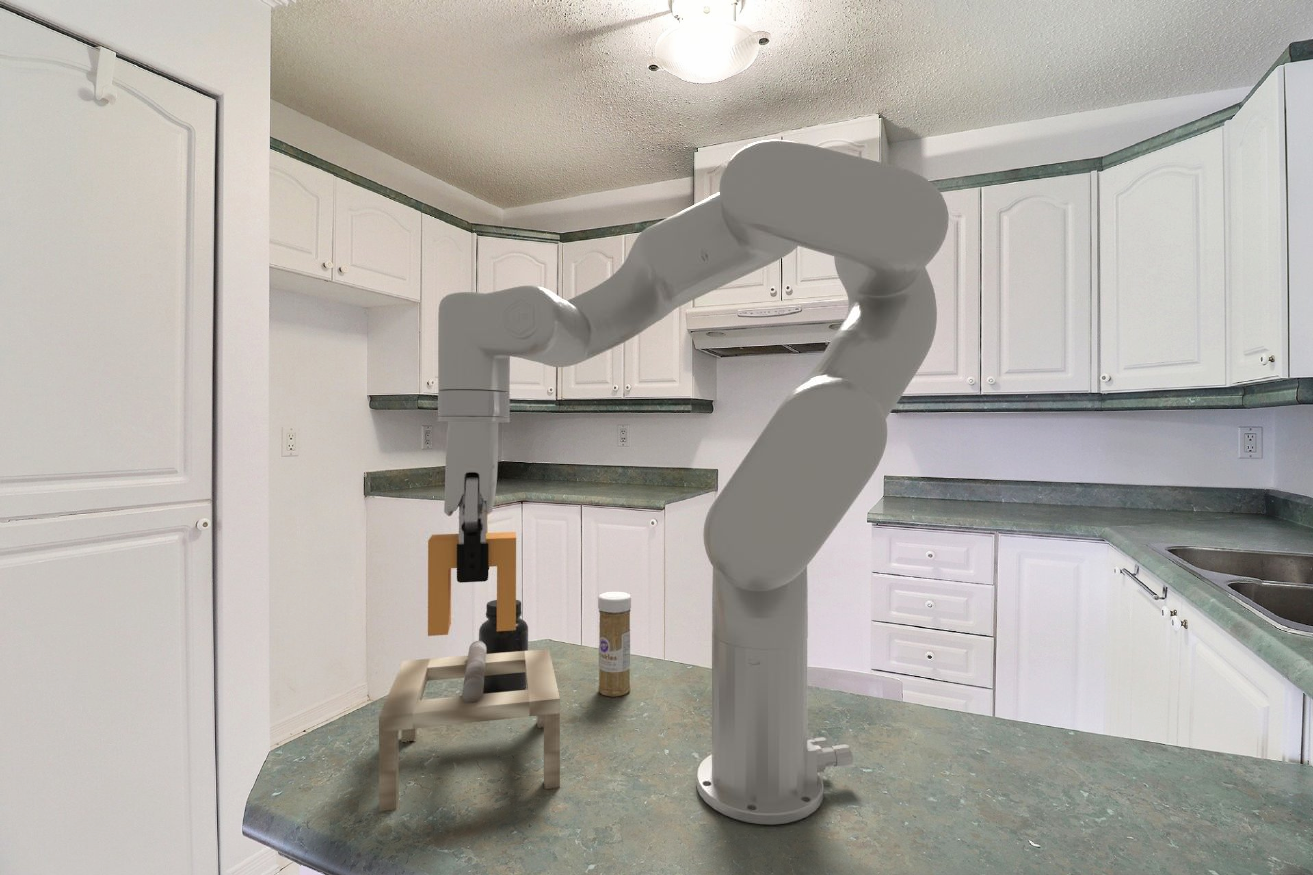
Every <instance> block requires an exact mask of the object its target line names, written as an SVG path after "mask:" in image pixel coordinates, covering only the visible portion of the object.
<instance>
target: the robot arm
mask: <svg viewBox="0 0 1313 875" xmlns="http://www.w3.org/2000/svg"><path fill="white" fill-rule="evenodd" d="M718 189H719V191H718V192H717V193H715V194H713V195H710V196H709V197H708V198H706V199H704V200H702V201H700V202H698V203H696V204H694V205H692V206H690V207H687V208H685V209H684V210H682V211H679V212H678V213H676V214H673V215H671V216H669V217H667V218H665V219H663V220H661V221H658V222H656V223H655V224H652V225H650V226H648V227H646V228H645V229H644V230H642V231H641V232H640V233H639V235H638V236H637V237H636V238H635V241H634V242H633V244H632V246H631V248H630V250H629V253H628V254H627V257H626V259H625V261H624V262H623V264H622V265H621V266H620V268H618V270H617V271H616V272H614V273H613V274H612V275H611V276H610V277H609V278H607V279H606V280H604V281H602V282H601V283H600V284H598V285H596V286H594V287H593V288H591V289H589V290H586V291H585V292H582V293H581V294H578V295H576V296H574V297H571V298H570V299H568V300H566V299H564V298H562V297H560V296H559V295H557V294H556V293H554V292H553V291H551V290H549V289H547V288H544V287H541V286H540V285H539V286H538V285H519V286H515V287H511V288H506V289H502V290H496V291H492V292H486V293H485V292H484V293H483V292H476V291H462V292H461V291H460V292H459V291H458V292H453V293H450V294H447V295H445V296H444V297H442V299H441V300H440V301H439V306H438V318H437V321H438V326H437V330H438V332H437V336H438V338H437V344H438V345H437V346H438V348H437V365H438V366H437V367H438V368H437V369H438V370H437V373H438V374H437V376H438V378H437V381H438V384H437V385H438V386H437V388H438V392H437V423H447V429H446V430H447V431H446V443H445V473H444V475H445V477H444V478H445V479H444V480H445V481H444V505H443V506H444V508H443V511H444V514H446V516H448V517H451V516H452V515H453V513H454V512H456V511H457V509H458V508H459V509H458V513H459V514H458V534H459V544H457V568H456V581H457V582H458V583H477V582H479V583H481V582H482V583H483V582H484V583H485V582H487V581H488V580H489V570H490V567H488V553H489V543H486V533H488V515H490V514H491V513H492V512H493V509H494V504H495V500H496V499H495V498H496V492H497V484H498V482H497V480H498V467H499V466H498V465H499V462H498V461H499V460H498V459H499V458H498V457H499V423H500V424H501V423H510V420H511V418H510V411H511V410H510V409H511V407H510V405H511V404H510V400H511V399H510V395H511V394H510V388H511V387H510V385H511V383H510V378H511V377H510V376H511V375H510V373H511V372H510V369H511V366H510V365H511V357H514V358H519V359H524V360H526V361H531V362H534V363H535V362H537V363H540V364H543V365H544V366H549V367H553V368H565V367H570V366H574V365H578V364H580V363H583V362H586V361H588V360H589V359H592V358H594V357H596V356H598V355H600V354H603V353H605V352H608V351H610V350H612V349H613V348H616V347H618V346H620V345H622V344H624V343H625V342H628V341H629V340H631V339H632V338H635V337H636V336H638V335H639V334H641V333H642V332H644V331H646V330H647V329H648V328H650V327H651V326H653V325H654V324H656V323H657V322H660V321H661V320H663V319H664V318H665V317H667V316H668V315H669V314H670V313H673V311H674V310H676V309H677V308H680V307H681V306H683V305H686V304H688V303H690V302H692V301H694V300H696V299H698V298H700V297H703V296H704V295H706V294H709V293H711V292H713V291H715V290H717V289H720V288H722V287H723V286H725V285H728V284H731V283H732V282H735V281H737V280H739V279H741V278H743V277H745V276H747V275H750V274H751V273H754V272H756V271H758V270H760V269H762V268H764V267H767V266H769V265H771V264H773V263H775V262H778V261H780V260H781V259H783V258H785V257H786V256H788V255H789V254H791V253H792V252H794V251H795V250H796V249H797V247H801V248H804V249H808V250H811V251H814V252H818V253H820V254H821V253H822V254H824V255H828V256H832V257H833V260H834V267H835V271H836V274H837V276H838V278H839V281H840V282H841V284H842V286H843V288H844V289H845V292H846V294H847V300H848V301H847V302H848V308H847V312H846V316H845V318H844V320H843V322H842V324H841V325H840V327H839V328H838V329H837V331H836V333H835V334H834V336H833V337H832V339H831V340H830V342H829V343H828V345H827V347H826V348H825V350H824V351H823V353H822V355H821V356H820V358H819V359H818V360H817V361H816V364H815V365H814V366H813V368H812V369H811V370H810V372H809V373H808V374H807V376H806V377H805V379H804V380H803V381H802V383H801V384H800V385H799V386H797V387H796V388H795V389H793V390H792V391H791V392H790V393H789V394H788V395H787V396H786V397H785V398H784V399H783V401H782V402H781V403H780V404H779V407H778V408H777V409H776V411H775V412H774V414H773V415H772V417H771V418H770V420H769V421H768V423H767V424H766V425H765V427H764V429H763V430H762V432H761V433H760V434H759V436H758V438H757V439H756V441H755V442H754V444H753V445H752V446H751V448H750V449H749V450H748V452H747V453H746V455H745V456H744V458H743V460H742V461H741V462H740V464H739V466H737V468H736V469H735V471H734V473H733V474H732V475H731V477H730V479H729V480H728V481H727V482H726V484H725V486H724V487H723V489H722V490H721V491H720V493H719V494H718V496H717V497H716V498H715V500H714V501H713V502H712V505H711V506H710V507H709V509H708V512H707V513H706V518H705V519H704V520H705V521H704V525H703V532H702V534H703V544H704V545H703V546H704V549H705V553H706V556H707V558H708V561H709V562H710V565H711V566H712V584H711V585H712V589H711V590H712V591H711V754H710V755H708V756H707V757H705V758H704V759H703V760H702V761H701V762H700V764H699V765H698V767H697V769H696V778H695V779H696V780H695V781H696V782H695V783H696V789H697V791H698V794H699V796H700V797H701V798H702V800H703V801H704V802H705V803H706V804H707V805H709V806H710V807H711V808H712V809H714V810H715V811H717V812H719V813H721V814H722V815H724V816H727V817H728V818H732V819H734V820H738V821H741V822H745V823H749V824H757V825H783V824H790V823H794V822H798V821H801V820H802V819H804V818H808V817H809V816H810V815H811V814H813V813H814V812H815V811H817V809H818V808H819V807H820V806H821V804H822V802H823V800H824V780H823V779H822V776H821V774H820V773H823V772H825V770H826V768H830V767H834V768H836V767H842V766H849V765H852V764H853V760H854V759H853V758H854V757H853V754H852V753H853V752H852V750H851V747H850V746H849V745H848V744H846V743H844V744H837V745H836V744H835V745H829V743H828V740H827V738H826V737H825V736H821V737H813V738H810V739H809V738H808V637H809V636H808V635H809V626H808V625H809V624H808V623H809V622H808V621H809V611H808V610H809V609H808V608H809V607H808V605H809V604H808V603H809V602H808V601H809V600H808V597H809V594H808V589H809V588H808V565H809V564H810V563H811V561H812V560H813V559H814V558H815V557H816V554H818V552H819V551H820V549H821V548H823V546H824V544H825V542H826V541H827V540H828V539H829V538H830V536H831V534H832V533H833V532H834V531H835V529H836V528H837V526H839V525H838V524H839V523H840V522H841V521H842V519H843V518H844V516H845V515H846V514H847V512H848V511H849V509H850V508H851V507H852V505H853V504H854V503H855V501H856V500H857V498H858V497H859V495H860V493H862V491H863V489H864V488H865V487H866V485H868V483H869V481H870V479H871V478H872V476H873V475H874V473H875V472H876V470H877V468H878V466H879V464H880V462H881V460H882V457H883V456H884V453H885V450H886V446H887V441H888V423H887V418H888V416H889V415H890V414H891V413H892V410H893V409H894V408H895V406H896V405H897V404H898V402H899V401H900V399H901V397H902V396H903V394H904V392H906V389H907V387H908V386H909V384H910V383H911V382H912V380H913V379H914V377H915V375H916V374H917V373H918V371H919V369H920V367H921V366H922V365H923V364H924V361H925V359H926V358H927V356H928V353H929V351H930V349H931V347H932V345H933V342H934V338H935V334H936V330H937V323H938V322H937V320H938V318H937V316H938V311H937V308H938V307H937V299H936V293H935V289H934V286H933V283H932V281H931V277H930V275H929V273H928V270H927V265H928V264H929V263H930V262H931V261H933V259H934V257H935V256H936V255H937V254H938V252H939V251H940V249H941V247H942V245H943V243H944V242H945V240H946V236H947V232H948V228H949V219H950V218H949V217H950V216H949V210H948V205H947V203H946V200H945V199H944V196H943V194H942V193H941V192H940V190H939V189H938V188H937V187H936V185H934V184H933V183H932V181H929V179H927V178H926V177H924V176H923V175H921V174H918V173H917V172H914V171H912V170H909V169H906V168H902V167H899V166H896V165H892V164H889V163H884V162H880V161H877V160H873V159H872V160H871V159H868V158H865V157H862V156H861V157H860V156H856V155H853V154H848V153H845V152H840V151H837V150H834V149H833V150H832V149H828V148H825V147H821V146H817V145H811V144H808V143H802V142H797V141H790V140H784V139H783V140H781V139H769V140H761V141H757V142H753V143H750V144H748V145H747V146H744V147H743V148H741V149H739V150H738V151H737V152H736V153H734V155H733V156H732V157H731V158H730V159H729V161H728V162H727V163H726V165H725V167H724V168H723V170H722V174H721V176H720V180H719V188H718Z"/></svg>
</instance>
